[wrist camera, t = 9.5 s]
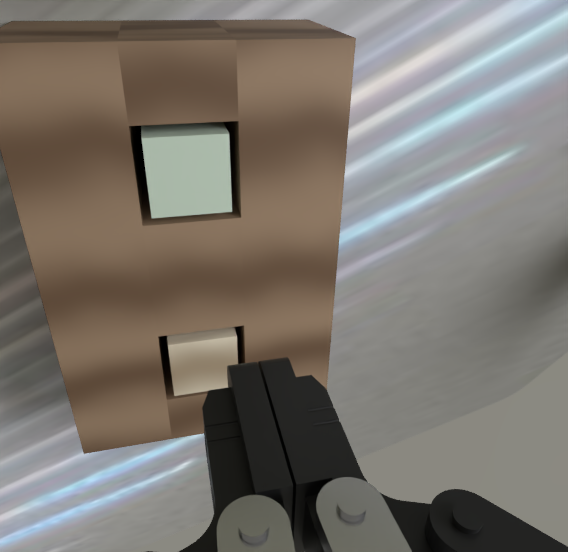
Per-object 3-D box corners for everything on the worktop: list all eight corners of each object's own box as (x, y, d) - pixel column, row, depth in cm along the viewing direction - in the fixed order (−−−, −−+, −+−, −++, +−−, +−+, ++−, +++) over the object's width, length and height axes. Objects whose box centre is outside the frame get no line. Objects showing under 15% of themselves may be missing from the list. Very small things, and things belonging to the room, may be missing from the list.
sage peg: (140, 98, 30) (141, 138, 24) (209, 95, 31) (229, 133, 24) (148, 165, 32) (151, 218, 26) (213, 161, 33) (231, 211, 26)
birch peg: (162, 275, 36) (167, 345, 30) (219, 269, 37) (237, 336, 31) (168, 321, 38) (174, 396, 32) (222, 314, 39) (238, 386, 33)
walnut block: (11, 21, 27) (-29, 43, 20) (308, 19, 30) (355, 38, 24) (92, 370, 40) (84, 453, 33) (295, 341, 43) (324, 412, 36)
